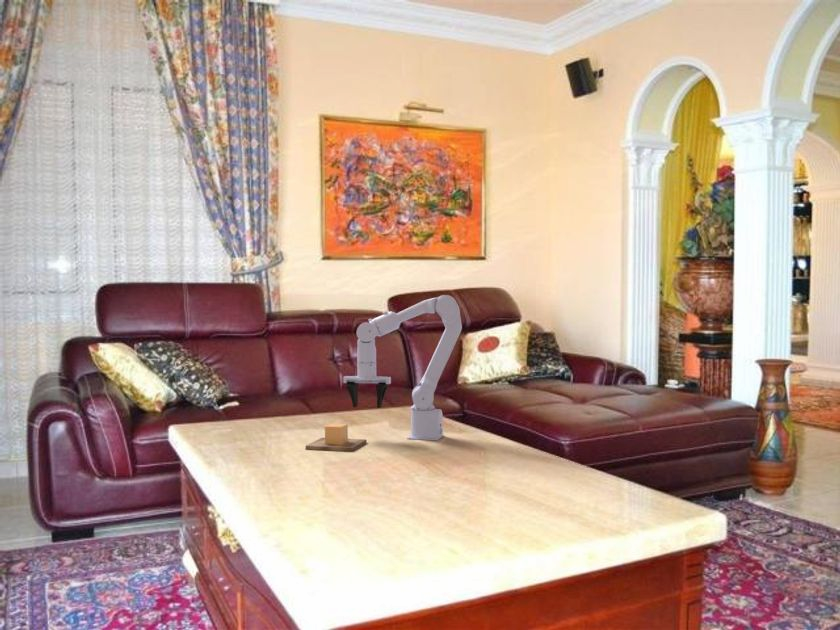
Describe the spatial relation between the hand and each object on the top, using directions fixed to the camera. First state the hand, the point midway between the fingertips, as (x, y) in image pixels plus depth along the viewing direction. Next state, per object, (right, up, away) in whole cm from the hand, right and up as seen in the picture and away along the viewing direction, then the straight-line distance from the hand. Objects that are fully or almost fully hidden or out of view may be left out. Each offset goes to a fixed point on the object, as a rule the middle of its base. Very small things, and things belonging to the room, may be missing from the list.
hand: (367, 407), depth 224 cm
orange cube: (-8, -9, -11) cm, 16 cm away
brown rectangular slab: (-8, -10, -11) cm, 17 cm away
